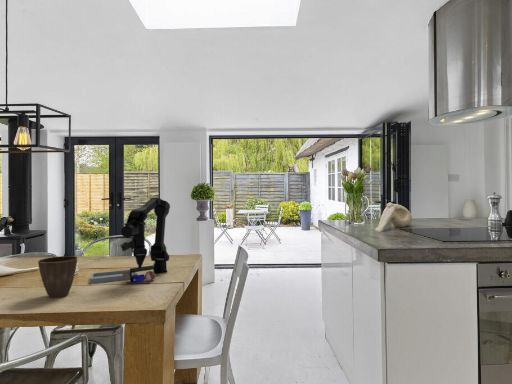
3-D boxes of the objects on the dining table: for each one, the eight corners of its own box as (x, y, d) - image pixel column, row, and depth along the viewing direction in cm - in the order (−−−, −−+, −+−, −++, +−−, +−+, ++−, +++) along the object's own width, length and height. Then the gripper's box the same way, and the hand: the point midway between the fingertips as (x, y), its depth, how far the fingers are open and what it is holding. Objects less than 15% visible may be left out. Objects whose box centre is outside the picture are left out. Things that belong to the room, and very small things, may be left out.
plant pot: (41, 293, 151) (41, 257, 151) (79, 288, 157) (78, 254, 157) (35, 303, 137) (34, 263, 137) (76, 297, 143) (76, 260, 143)
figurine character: (123, 288, 161) (156, 281, 167) (121, 273, 161) (154, 266, 167) (123, 285, 168) (154, 278, 173) (121, 270, 167) (152, 263, 173)
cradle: (135, 273, 186) (135, 268, 186) (137, 278, 174) (137, 273, 174) (91, 277, 177) (91, 273, 177) (90, 283, 165) (90, 279, 165)
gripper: (120, 233, 172) (120, 264, 172) (121, 238, 155) (122, 272, 155) (143, 232, 177) (143, 262, 177) (147, 236, 160) (147, 269, 160)
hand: (138, 266), depth 167 cm, fingers open, 9 cm apart
